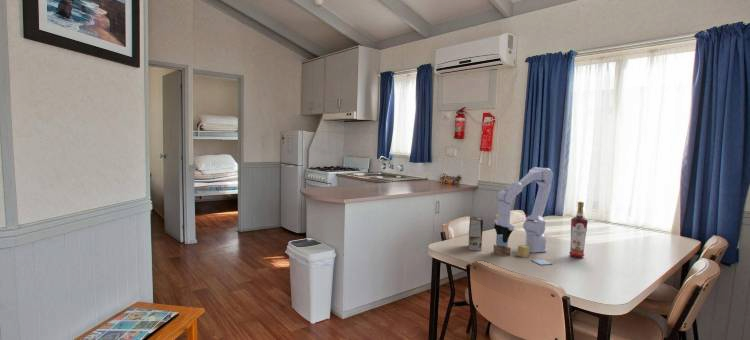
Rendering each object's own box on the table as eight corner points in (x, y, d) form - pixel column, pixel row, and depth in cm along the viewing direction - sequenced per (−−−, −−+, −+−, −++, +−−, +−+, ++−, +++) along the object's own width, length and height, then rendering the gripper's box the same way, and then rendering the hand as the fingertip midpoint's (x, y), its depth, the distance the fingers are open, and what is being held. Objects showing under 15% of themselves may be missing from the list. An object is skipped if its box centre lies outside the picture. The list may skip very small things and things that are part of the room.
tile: (542, 259, 181) (542, 259, 181) (552, 264, 175) (552, 263, 175) (530, 260, 179) (530, 259, 179) (540, 265, 173) (540, 264, 173)
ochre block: (522, 254, 190) (523, 244, 189) (529, 256, 186) (529, 246, 186) (517, 255, 188) (517, 245, 187) (523, 257, 184) (524, 247, 184)
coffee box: (481, 251, 193) (483, 220, 191) (468, 250, 194) (470, 219, 193) (480, 246, 202) (481, 217, 200) (468, 245, 203) (469, 216, 201)
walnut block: (504, 252, 193) (504, 244, 193) (510, 255, 187) (510, 248, 187) (493, 252, 192) (493, 244, 192) (498, 256, 186) (499, 248, 186)
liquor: (569, 257, 186) (573, 202, 184) (567, 253, 193) (571, 200, 191) (585, 259, 184) (590, 203, 181) (583, 255, 190) (587, 201, 188)
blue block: (502, 243, 192) (503, 234, 191) (507, 245, 188) (508, 236, 187) (496, 244, 190) (496, 234, 190) (500, 246, 187) (501, 236, 186)
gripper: (489, 211, 194) (487, 237, 195) (505, 217, 180) (504, 245, 181) (500, 211, 196) (499, 236, 197) (518, 217, 182) (516, 244, 183)
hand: (502, 240), depth 189 cm, fingers closed on blue block, 4 cm apart
